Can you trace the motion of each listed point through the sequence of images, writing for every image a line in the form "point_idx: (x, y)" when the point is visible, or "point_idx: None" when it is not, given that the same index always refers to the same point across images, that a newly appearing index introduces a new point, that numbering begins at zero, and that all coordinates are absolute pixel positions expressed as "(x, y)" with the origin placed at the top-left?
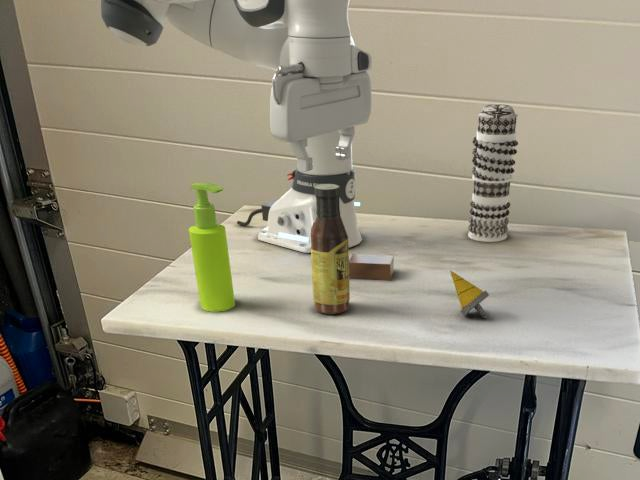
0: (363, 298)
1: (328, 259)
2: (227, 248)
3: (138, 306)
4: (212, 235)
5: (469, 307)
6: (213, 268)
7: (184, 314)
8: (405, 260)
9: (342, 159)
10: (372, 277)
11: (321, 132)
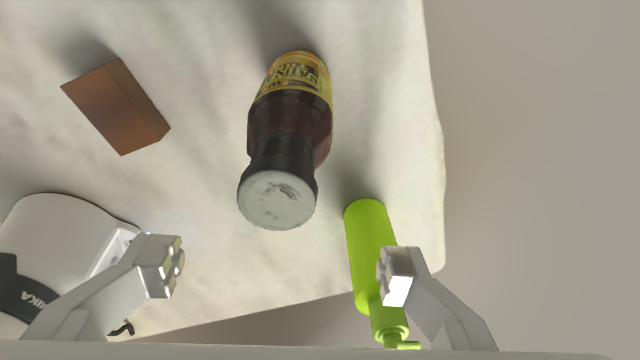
0: (226, 56)
1: (328, 98)
2: (366, 258)
3: None
4: None
5: None
6: (395, 244)
7: (405, 227)
8: (14, 86)
9: (180, 240)
10: (142, 91)
11: (375, 358)
